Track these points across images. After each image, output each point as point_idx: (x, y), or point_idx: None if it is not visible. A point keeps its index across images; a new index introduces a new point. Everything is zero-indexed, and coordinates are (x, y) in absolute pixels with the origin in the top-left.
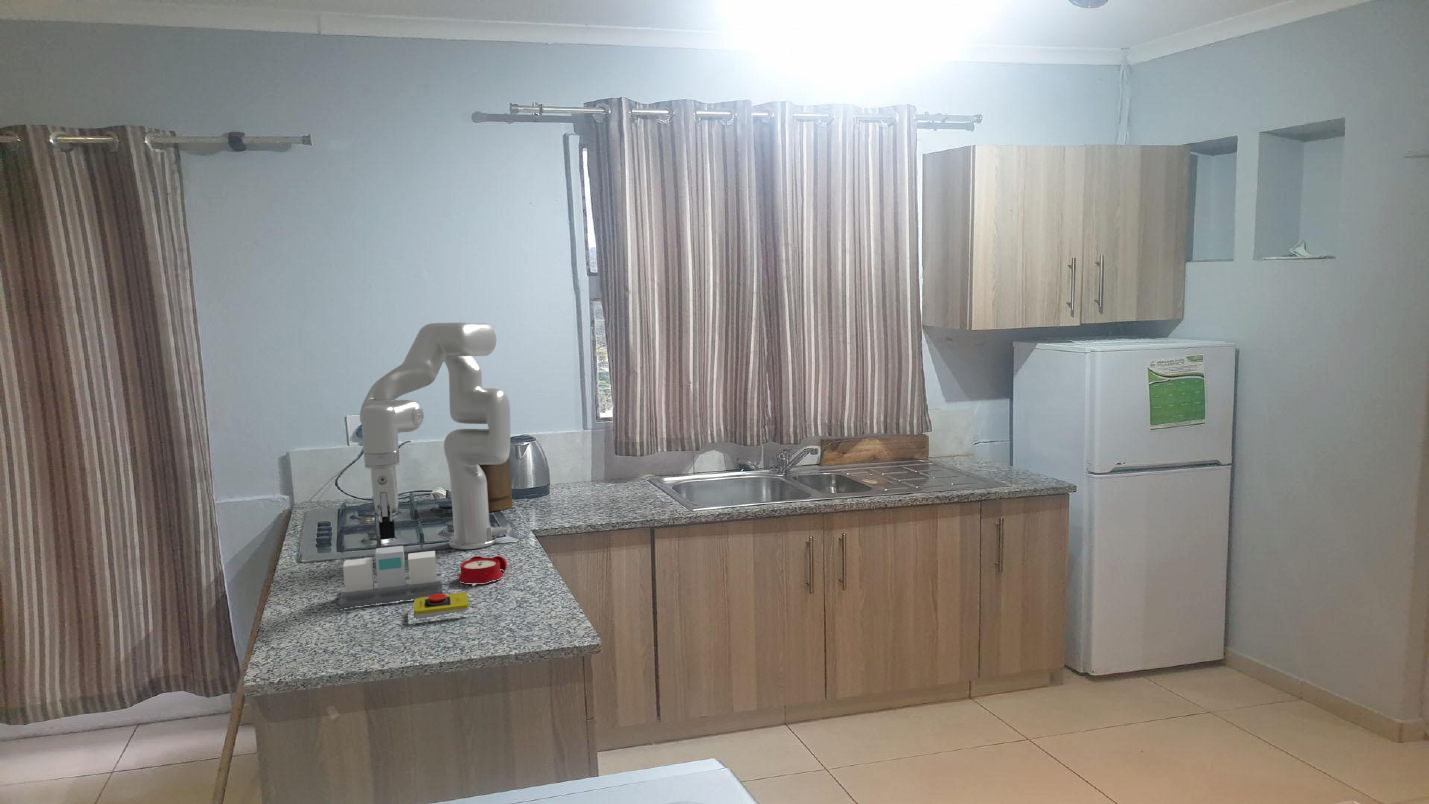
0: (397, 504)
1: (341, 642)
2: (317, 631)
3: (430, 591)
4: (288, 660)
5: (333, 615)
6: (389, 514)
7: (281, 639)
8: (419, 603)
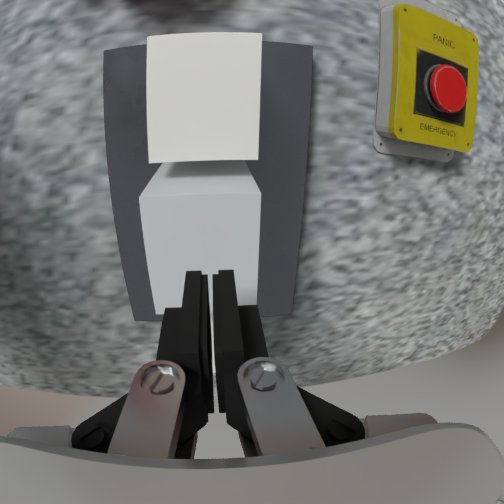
0: (447, 468)
1: (455, 275)
2: (387, 320)
3: (299, 79)
4: (460, 327)
5: (315, 311)
6: (353, 427)
7: (385, 358)
8: (433, 132)
